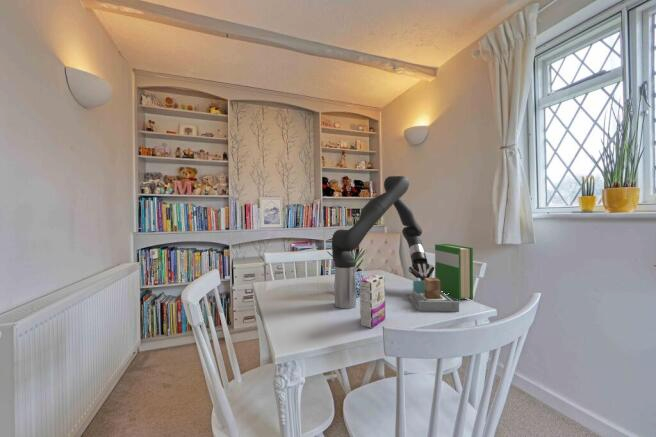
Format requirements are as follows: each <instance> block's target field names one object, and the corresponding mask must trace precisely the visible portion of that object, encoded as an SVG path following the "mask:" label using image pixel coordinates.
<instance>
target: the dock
mask: <svg viewBox="0 0 656 437" xmlns="http://www.w3.org/2000/svg"><path fill="white" fill-rule="evenodd" d="M440 294H441V295H442V296H443V297H444V298H446V299H447V301H424V300H423V299H422V298H421V297H420V296H419V295H418V294H417V292H416V291H413V290H412V295H408V299H409V300H410V302H411V301H412V302H413V303H412V302H411V303H412V305H414V307H415V306H416V307H415V308H416V309H417V310H418V312H460V301H459V300H455V301H454V299H453V298H452V297H450V296H447V295H445V294H444V293H443V292H441V291H440Z"/></svg>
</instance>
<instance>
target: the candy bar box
mask: <svg viewBox="0 0 656 437" xmlns="http://www.w3.org/2000/svg"><path fill="white" fill-rule="evenodd" d="M385 285H386V284H385V275H381V274H372V275H369V276H368V277H365V278H362V279H360V280H359V303H360V304H359V305H360V307H359V308H360V309H359V312H360V326H362V327H366V328H369V329H374V328H375V327H376V326H378V325H379V324H381V323H382V322H383V321H384V320H385V319H386V293H385V292H386V290H385V289H386V287H385Z"/></svg>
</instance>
